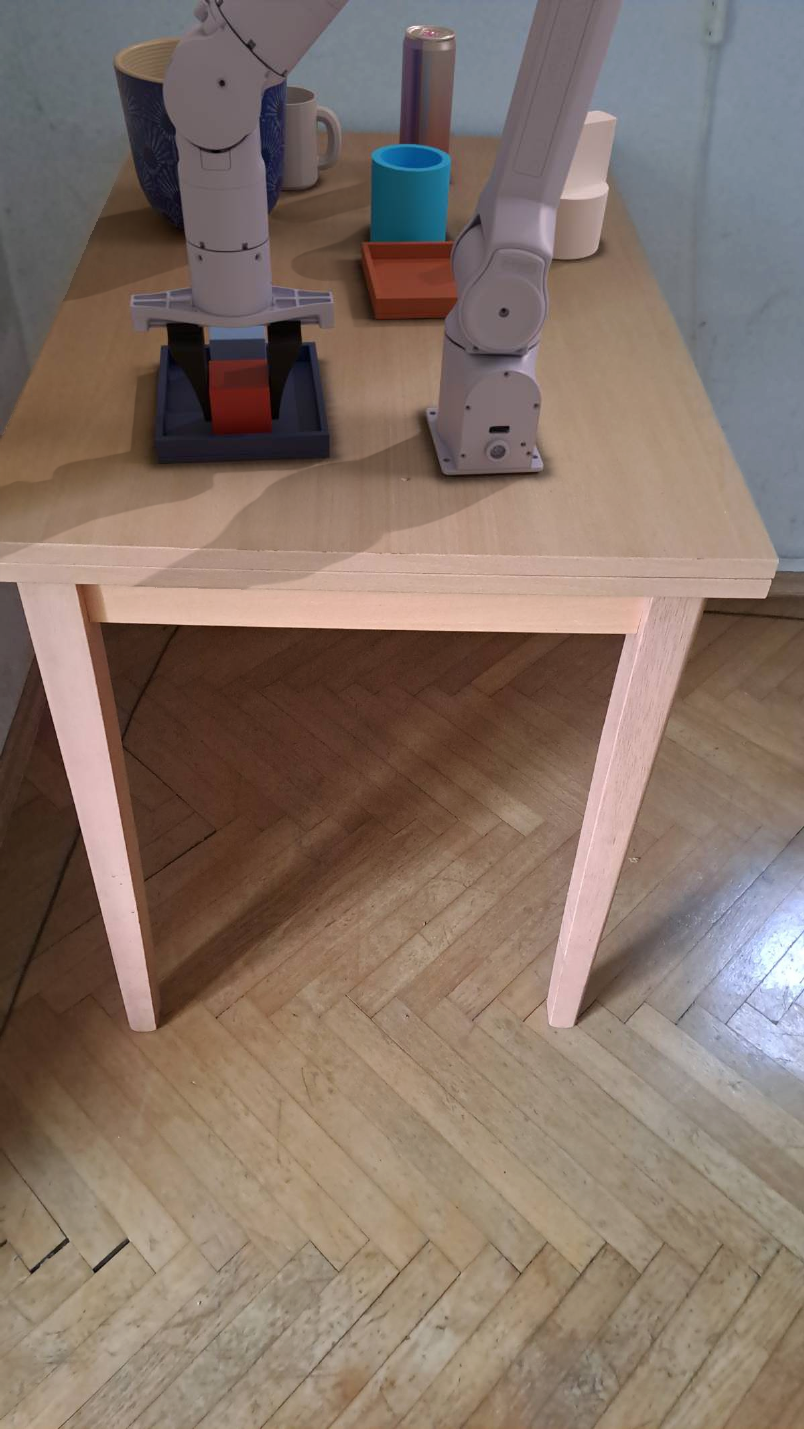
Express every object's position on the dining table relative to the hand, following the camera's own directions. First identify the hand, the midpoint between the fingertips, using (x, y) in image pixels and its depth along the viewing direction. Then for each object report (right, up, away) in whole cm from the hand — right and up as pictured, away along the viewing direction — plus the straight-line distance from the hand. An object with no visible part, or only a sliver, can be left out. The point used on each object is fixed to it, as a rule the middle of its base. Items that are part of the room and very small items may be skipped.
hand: (242, 414), depth 78 cm
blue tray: (-1, +1, +4) cm, 4 cm away
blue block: (-1, +5, +6) cm, 8 cm away
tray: (+15, +19, +21) cm, 32 cm away
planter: (-8, +31, +31) cm, 44 cm away
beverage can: (+15, +42, +43) cm, 61 cm away
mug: (+13, +29, +31) cm, 44 cm away
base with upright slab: (+30, +28, +31) cm, 51 cm away
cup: (0, +40, +40) cm, 57 cm away
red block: (0, -1, +1) cm, 1 cm away
